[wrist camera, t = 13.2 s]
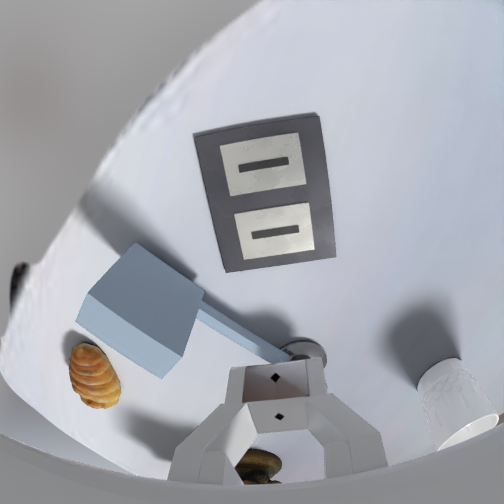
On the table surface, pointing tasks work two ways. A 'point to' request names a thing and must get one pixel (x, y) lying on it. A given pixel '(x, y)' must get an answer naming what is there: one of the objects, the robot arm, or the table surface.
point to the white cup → (454, 404)
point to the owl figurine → (258, 467)
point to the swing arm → (157, 314)
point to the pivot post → (304, 351)
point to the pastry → (93, 377)
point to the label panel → (269, 193)
